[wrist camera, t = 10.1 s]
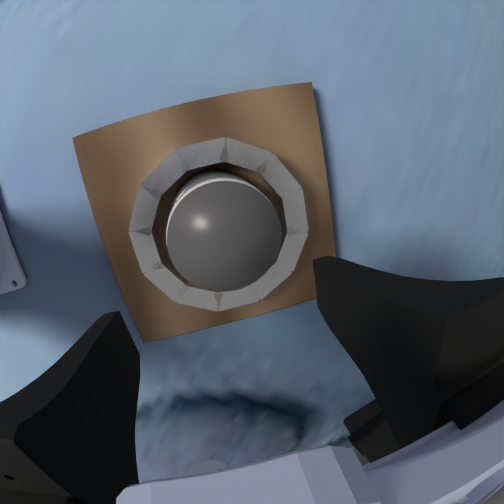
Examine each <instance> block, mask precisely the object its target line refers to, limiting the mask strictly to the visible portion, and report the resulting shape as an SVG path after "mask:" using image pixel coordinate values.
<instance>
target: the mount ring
mask: <svg viewBox="0 0 504 504" xmlns="http://www.w3.org/2000/svg"><path fill="white" fill-rule="evenodd" d="M220 162H227V163H231V164H234V165H237V166H240V167H244V168H247V169H250V170H253V171H255V172H256V173H257V174H258V175H259V177H260V178H261V179H262V180H263V181H264V182H265V183H266V185H267V186H268V187H269V188H270V189H271V190H272V191H273V196H274V202H275V208H276V213H277V215H278V218H279V220H280V225H281V233H282V235H281V245H280V249H279V252H278V255H277V257H276V259H275V261H274V263H273V264H272V266H271V267H270V269H269V270H268V271H267V272H266V273H265V274H264V275H263V276H262V277H261V278H260V279H258V280H257V281H256V282H254V283H252V284H251V285H249V286H246V287H244V288H241V289H238V290H234V291H227V292H216V291H210V290H206V289H202V288H200V287H198V286H195V285H194V284H192V283H190V282H189V281H187V280H186V279H185V278H184V277H183V276H182V275H181V274H180V273H179V272H178V271H177V269H176V268H175V267H174V265H173V263H172V261H171V259H170V256H169V255H168V254H167V253H166V252H165V251H164V249H163V246H162V243H161V239H160V236H159V233H158V229H157V226H156V223H155V219H156V215H157V211H158V207H159V203H160V200H161V196H162V194H163V193H164V192H165V191H166V190H167V189H168V188H169V187H170V186H172V185H173V184H174V183H175V182H176V181H177V180H178V179H179V178H180V177H181V176H182V175H183V174H184V173H185V172H186V171H187V170H191V169H195V168H199V167H203V166H207V165H211V164H216V163H220ZM301 188H302V187H301V186H300V185H299V183H298V182H297V181H296V180H295V178H294V177H293V176H292V175H291V174H290V172H289V171H288V170H287V169H286V168H285V166H284V165H283V164H282V163H281V162H280V160H279V159H278V158H277V157H276V156H275V154H274V153H272V152H270V151H267V150H264V149H261V148H258V147H255V146H252V145H249V144H246V143H243V142H240V141H237V140H234V139H231V138H227V137H216V138H212V139H207V140H203V141H199V142H195V143H191V144H187V145H183V146H179V147H177V148H175V149H174V150H173V151H172V152H171V153H170V154H169V155H168V156H167V157H166V158H165V159H164V160H163V161H162V162H161V163H160V164H159V165H158V166H157V167H156V168H155V169H154V170H153V171H152V172H151V173H150V174H149V175H148V176H147V177H146V178H145V179H144V180H143V181H142V182H141V183H140V185H139V188H138V192H137V196H136V200H135V204H134V208H133V212H132V217H131V221H130V225H129V235H130V238H131V242H132V245H133V248H134V251H135V254H136V257H137V259H138V262H139V265H140V268H141V271H142V273H144V276H145V277H146V278H148V279H149V280H150V281H151V282H152V283H153V284H154V285H156V286H157V287H158V288H159V289H160V290H161V291H163V292H164V293H165V294H166V295H167V296H169V297H170V298H171V299H172V300H173V301H174V302H176V301H177V303H180V304H184V305H189V306H193V307H198V308H203V309H207V310H212V311H218V309H219V311H223V310H227V309H231V308H235V307H239V306H242V305H246V304H250V303H254V302H258V301H259V299H260V300H262V299H263V298H264V297H265V296H266V295H267V294H269V293H270V292H271V291H272V290H273V289H274V288H276V287H277V286H278V285H279V284H280V283H281V282H283V281H284V280H285V279H286V278H287V277H288V276H289V275H291V274H292V272H291V271H294V268H295V266H296V263H297V261H298V258H299V256H300V253H301V251H302V248H303V246H304V243H305V241H306V238H307V236H308V232H307V231H309V230H308V222H307V215H306V208H305V201H304V195H303V189H301Z"/></svg>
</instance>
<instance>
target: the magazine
mask: <svg viewBox="0 0 504 504" xmlns="http://www.w3.org/2000/svg"><path fill="white" fill-rule="evenodd" d="M344 424H345V426H346V428H347V429H348V431H349V433H350V434H351V436H349V437H348V439H349V440H350V442H351V444H352V445H353V446H354V447H355V448H356V449H357V450H358V451H359V452H360V453H361V454H362V455H363V454H364V456H365V457H366V458H367V460H368V461H369V462H370V463H372V462H374V461H377V460H379V459H381V458H383V457H385V456H387V455H390V454H392V453H394V452H396V451H398V450H400V449H399V447H398V444H397V442H396V440H395V437H394V435H393V433H392V430H391V428H390V426H389V424H388V422H387V420H386V417H385V415H384V413H383V411H382V409H381V407H380V405H379V403H378V401H377V399H375V400H374V401H372V402H371V403H369V404H368V405H366V406H365V407H363V408H362V409H360V410H359V411H357V412H355V413H354V414H352V415H351V416H349V417H347V418H346V419H344Z"/></svg>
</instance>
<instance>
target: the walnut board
mask: <svg viewBox="0 0 504 504" xmlns="http://www.w3.org/2000/svg"><path fill="white" fill-rule="evenodd" d="M216 137H227V138H231V139H234V140H237V141H240V142H243V143H246V144H249V145H252V146H255V147H258V148H261V149H264V150H267V151H270V152H272V153H274V154H275V156H276V157H277V158H278V159H279V160H280V162H281V163H282V164H283V165H284V166H285V168H286V169H287V170H288V171H289V172H290V174H291V175H292V176H293V177H294V178H295V180H296V181H297V182H298V183H299V185H300V186H301V187H302V188H301V189H303V195H304V201H305V208H306V215H307V222H308V230H309V231H307V232H308V236H307V238H306V241H305V243H304V246H303V248H302V251H301V253H300V256H299V258H298V261H297V263H296V266H295V268H294V271H291V272H292V274H291V275H289V276H288V277H287V278H286V279H285V280H284V281H283V282H281V283H280V284H279V285H278V286H277V287H276V288H274V289H273V290H272V291H271V292H270V293H269V294H267V295H266V296H265V297H264V298H263V299H262V300H260V299H259V301H258V302H254V303H250V304H246V305H242V306H239V307H235V308H231V309H227V310H223V311H219V309H218V311H212V310H207V309H203V308H198V307H193V306H189V305H184V304H180V303H177V301H176V302H174V301H173V300H172V299H171V298H170V297H169V296H167V295H166V294H165V293H164V292H163V291H161V290H160V289H159V288H158V287H157V286H156V285H154V284H153V283H152V282H151V281H150V280H149V279H148V278H146V277H145V276H144V273H142V271H141V268H140V265H139V262H138V259H137V257H136V254H135V251H134V248H133V245H132V242H131V238H130V235H129V225H130V221H131V217H132V212H133V208H134V204H135V200H136V196H137V192H138V188H139V185H140V183H141V182H142V181H143V180H144V179H145V178H146V177H147V176H148V175H149V174H150V173H151V172H152V171H153V170H154V169H155V168H156V167H157V166H158V165H159V164H160V163H161V162H162V161H163V160H164V159H165V158H166V157H167V156H168V155H169V154H170V153H171V152H172V151H173V150H174V149H175V148H177V147H179V146H183V145H187V144H191V143H195V142H199V141H203V140H207V139H212V138H216ZM73 143H74V147H75V151H76V155H77V159H78V163H79V167H80V170H81V174H82V178H83V181H84V185H85V188H86V192H87V195H88V199H89V202H90V205H91V209H92V212H93V215H94V218H95V221H96V224H97V227H98V230H99V233H100V236H101V239H102V242H103V245H104V248H105V251H106V253H107V256H108V259H109V262H110V264H111V267H112V270H113V272H114V275H115V277H116V280H117V283H118V285H119V288H120V290H121V293H122V295H123V298H124V300H125V302H126V305H127V307H128V310H129V312H130V314H131V317H132V319H133V321H134V323H135V326H136V328H137V330H138V332H139V335H140V337H141V339H142V341H143V343H145V342H150V341H154V340H159V339H163V338H168V337H172V336H177V335H181V334H185V333H189V332H194V331H198V330H202V329H206V328H210V327H214V326H218V325H222V324H226V323H230V322H234V321H238V320H242V319H245V318H249V317H253V316H257V315H260V314H264V313H268V312H271V311H275V310H278V309H282V308H285V307H289V306H292V305H296V304H299V303H303V302H306V301H310V300H313V299H316V298H317V293H316V285H315V277H314V269H313V261H312V260H313V259H317V258H320V257H324V256H327V255H329V256H334V257H336V253H335V242H334V232H333V222H332V213H331V205H330V196H329V188H328V181H327V173H326V166H325V159H324V152H323V146H322V139H321V133H320V127H319V121H318V115H317V109H316V104H315V98H314V93H313V88H312V82H308V83H299V84H290V85H282V86H274V87H267V88H261V89H254V90H248V91H242V92H236V93H231V94H226V95H221V96H216V97H211V98H206V99H201V100H197V101H192V102H188V103H184V104H180V105H176V106H172V107H168V108H164V109H160V110H157V111H153V112H149V113H146V114H142V115H139V116H136V117H132V118H129V119H126V120H122V121H119V122H116V123H113V124H110V125H107V126H104V127H101V128H98V129H95V130H93V131H90V132H87V133H84V134H82V135H79V136H76V137H74V138H73ZM210 168H222V169H227V170H230V171H233V172H235V173H237V174H239V175H240V176H241V177H243V178H244V179H245V180H246V181H247V182H249V183H250V184H251V185H253V186H254V187H256V188H257V189H258V190H259V191H261V192H262V193H263V194H264V195H265V196H266V197H267V198H268V199H269V201H270V202H271V203H272V205H273V207H274V209H275V211H276V208H275V202H274V196H273V191H272V190H271V189H270V188H269V187H268V186H267V185H266V183H265V182H264V181H263V180H262V179H261V178H260V177H259V175H258V174H257V173H256V172H255V171H253V170H250V169H247V168H244V167H240V166H237V165H234V164H231V163H227V162H220V163H216V164H211V165H207V166H203V167H199V168H195V169H191V170H187V171H186V172H185V173H184V174H183V175H182V176H181V177H180V178H179V179H178V180H177V181H176V182H175V183H174V184H173V185H172V186H170V187H169V188H168V189H167V190H166V191H165V192H164V193H163V194H162V196H161V200H160V203H159V207H158V211H157V215H156V219H155V223H156V226H157V229H158V233H159V236H160V239H161V243H162V246H163V249H164V251H165V252H166V253H167V254H168V255H169V253H168V248H167V244H166V229H167V223H168V219H169V215H170V212H171V207H172V202H173V198H174V196H175V193H176V191H177V189H178V188H179V187H180V185H181V184H182V183H183V182H184V181H185V180H186V179H187V178H188V177H189V176H191V175H193V174H194V173H196V172H199V171H201V170H204V169H210Z"/></svg>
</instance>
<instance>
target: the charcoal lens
mask: <svg viewBox="0 0 504 504" xmlns="http://www.w3.org/2000/svg"><path fill="white" fill-rule="evenodd" d="M281 235H282V233H281V225H280V220H279V218H278V215H277V213H276V211H275V209H274V207H273V205H272V203H271V202H270V201H269V199H268V198H267V197H266V196H265V195H264V194H263V193H262V192H261V191H259V190H258V189H257V188H256V187H254V186H253V185H251V184H250V183H249V182H247V181H246V180H245V179H244V178H243V177H241V176H240V175H239V174H237V173H235V172H233V171H230V170H227V169H222V168H210V169H204V170H201V171H199V172H196V173H194V174H193V175H191V176H189V177H188V178H187V179H186V180H185V181H184V182H183V183H182V184H181V185H180V187H179V188H178V189H177V191H176V193H175V196H174V198H173V202H172V207H171V212H170V215H169V219H168V223H167V229H166V244H167V248H168V253H169V256H170V259H171V261H172V263H173V265H174V267H175V268H176V269H177V271H178V272H179V273H180V274H181V275H182V276H183V277H184V278H185V279H186V280H187V281H189V282H190V283H192V284H194V285H195V286H198V287H200V288H202V289H206V290H210V291H216V292H227V291H234V290H238V289H241V288H244V287H246V286H249V285H251V284H252V283H254V282H256V281H257V280H258V279H260V278H261V277H262V276H263V275H264V274H265V273H266V272H267V271H268V270H269V269H270V267H271V266H272V264H273V263H274V261H275V259H276V257H277V255H278V252H279V249H280V245H281Z"/></svg>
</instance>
